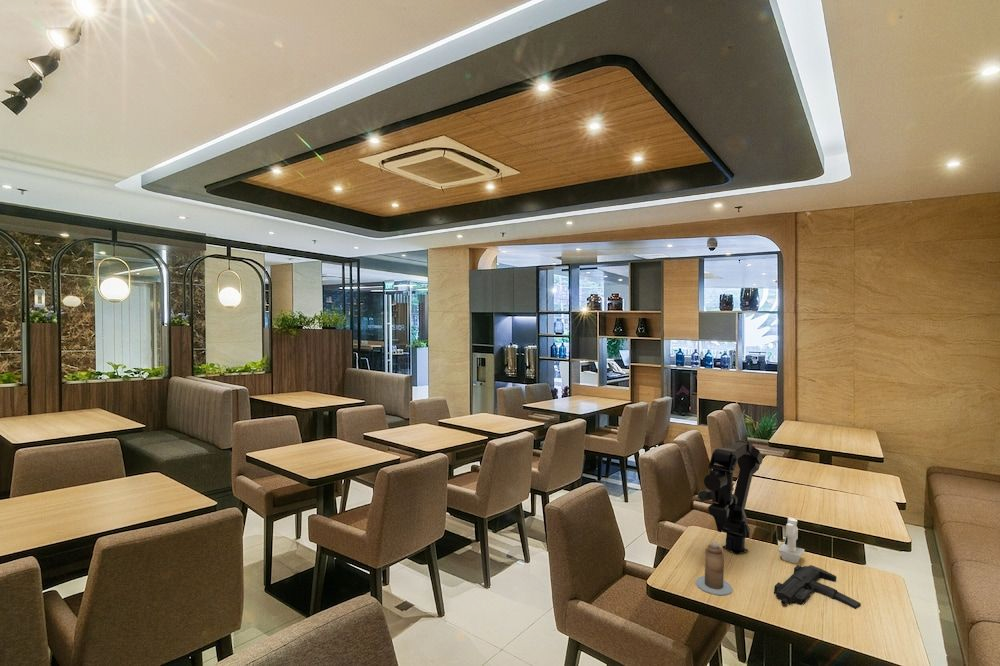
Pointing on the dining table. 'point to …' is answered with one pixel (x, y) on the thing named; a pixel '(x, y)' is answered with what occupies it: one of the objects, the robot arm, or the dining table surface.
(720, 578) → the pepper mill
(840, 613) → the dining table surface
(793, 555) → the figurine
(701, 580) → the slate mat
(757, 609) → the dining table surface
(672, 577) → the dining table surface
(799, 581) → the firearm
